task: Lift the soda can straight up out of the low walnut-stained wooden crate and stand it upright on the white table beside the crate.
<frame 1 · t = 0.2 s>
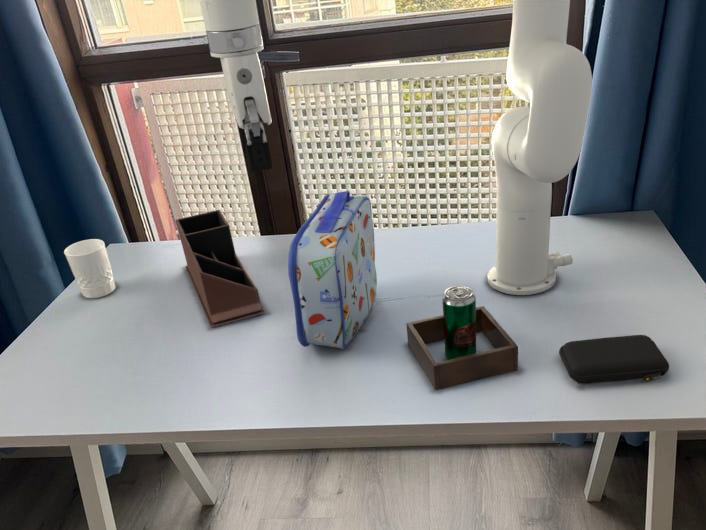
hand: (257, 160, 108), 31 cm above the table, tool pointing down, fingers open, 9 cm apart
desk organizer: (222, 290, 142), on the table
soda can: (460, 358, 114), resting in crate
white cup: (99, 291, 147), on the table
lunch box: (343, 320, 127), on the table
carrying case: (612, 370, 107), on the table
crate: (460, 357, 113), on the table
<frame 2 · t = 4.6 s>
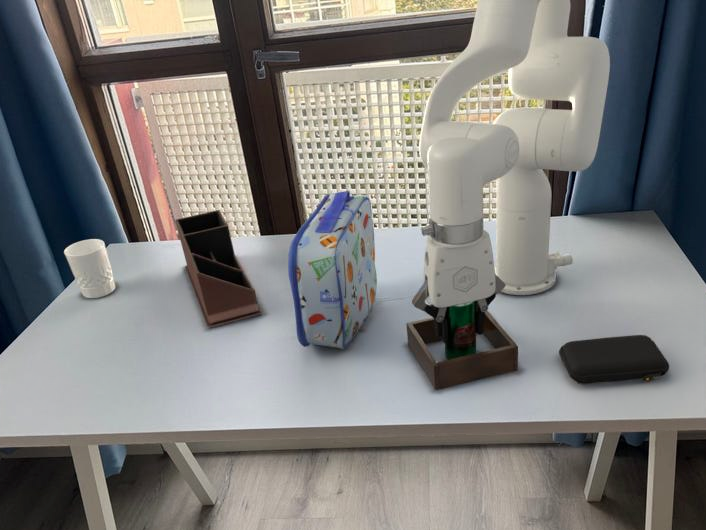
hand: (460, 333, 111), 5 cm above the table, tool pointing down, fingers closed on soda can, 5 cm apart
soda can: (460, 358, 114), resting in crate, touching gripper
everything else where it was.
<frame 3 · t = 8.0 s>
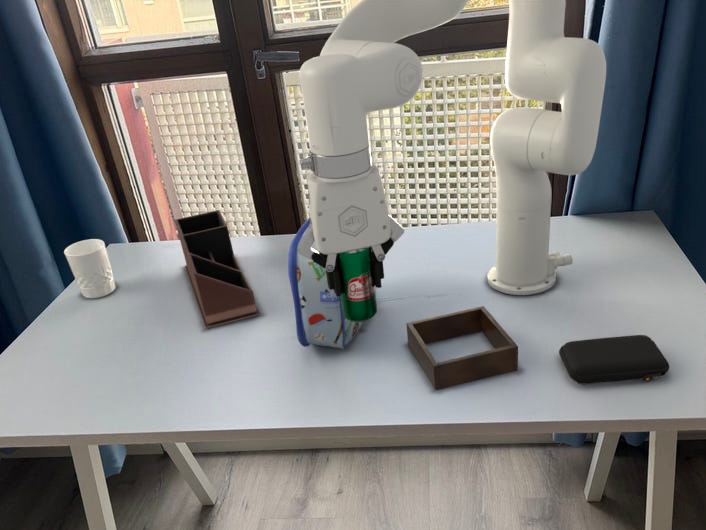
hand: (356, 286, 99), 18 cm above the table, tool pointing down, fingers closed on soda can, 5 cm apart
soda can: (360, 316, 101), point 13 cm above the table, touching gripper
everything else where it was.
when the fingers open (5 cm above the table, at t = 11.6 s): soda can stays where it is, on the table.
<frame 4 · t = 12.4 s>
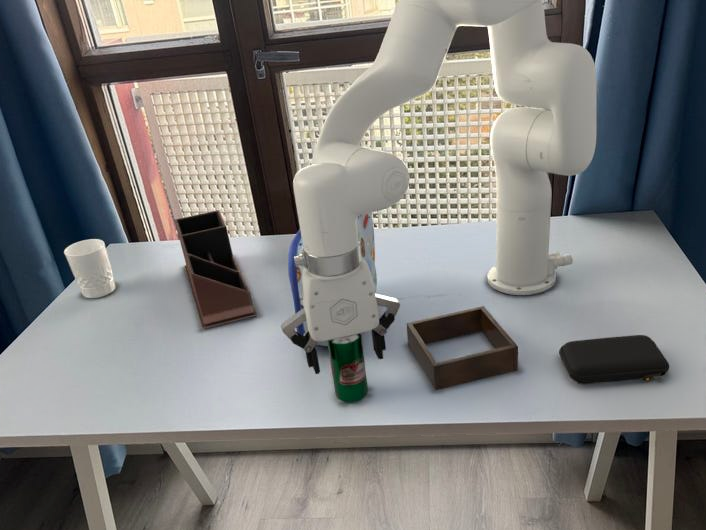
hand: (347, 361, 104), 6 cm above the table, tool pointing down, fingers open, 9 cm apart
soda can: (352, 396, 108), on the table
everything else where it was.
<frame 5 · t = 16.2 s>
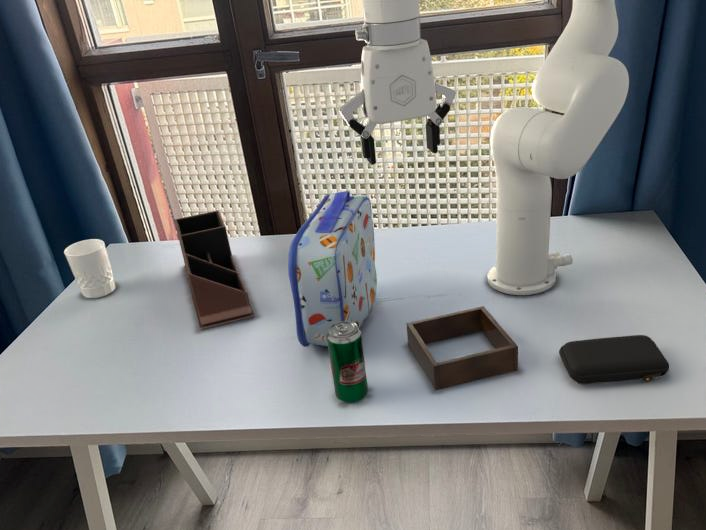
hand: (402, 156, 106), 30 cm above the table, tool pointing down, fingers open, 9 cm apart
at the end: soda can inside the target area (0.1 cm from its centre), on the table; soda can tilted 0°; the gripper is holding nothing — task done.
